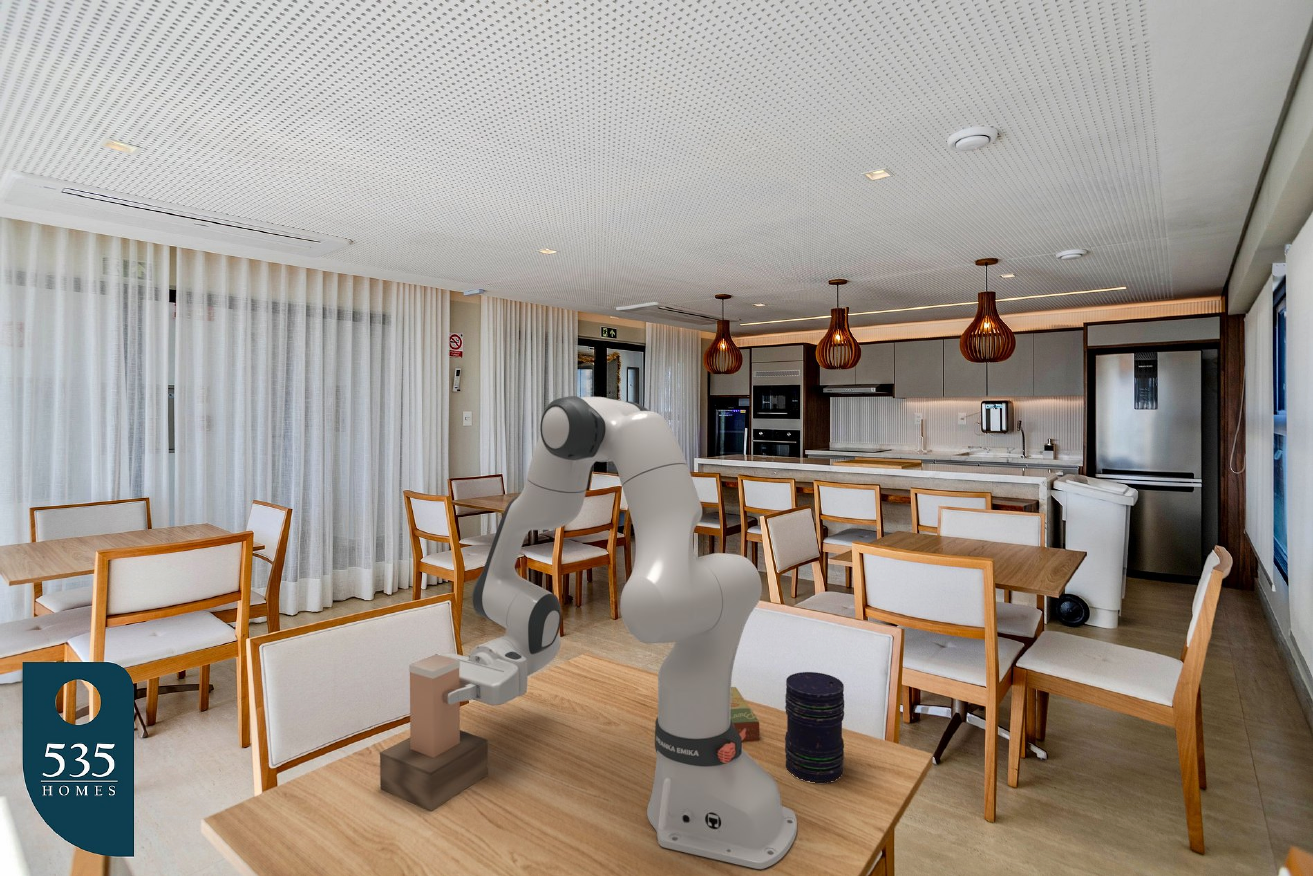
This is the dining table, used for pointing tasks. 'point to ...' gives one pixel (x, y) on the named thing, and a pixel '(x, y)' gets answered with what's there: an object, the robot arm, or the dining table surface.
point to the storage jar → (814, 726)
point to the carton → (743, 716)
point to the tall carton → (433, 705)
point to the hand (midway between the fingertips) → (430, 694)
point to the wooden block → (433, 771)
